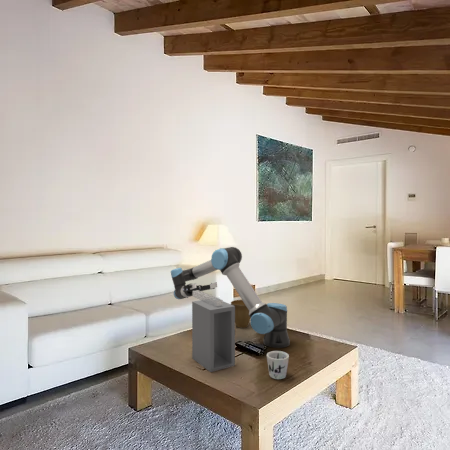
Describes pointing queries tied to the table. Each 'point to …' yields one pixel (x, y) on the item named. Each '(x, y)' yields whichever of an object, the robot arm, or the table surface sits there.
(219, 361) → the shelf
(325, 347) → the table surface
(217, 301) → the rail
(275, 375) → the mug
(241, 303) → the plant pot
